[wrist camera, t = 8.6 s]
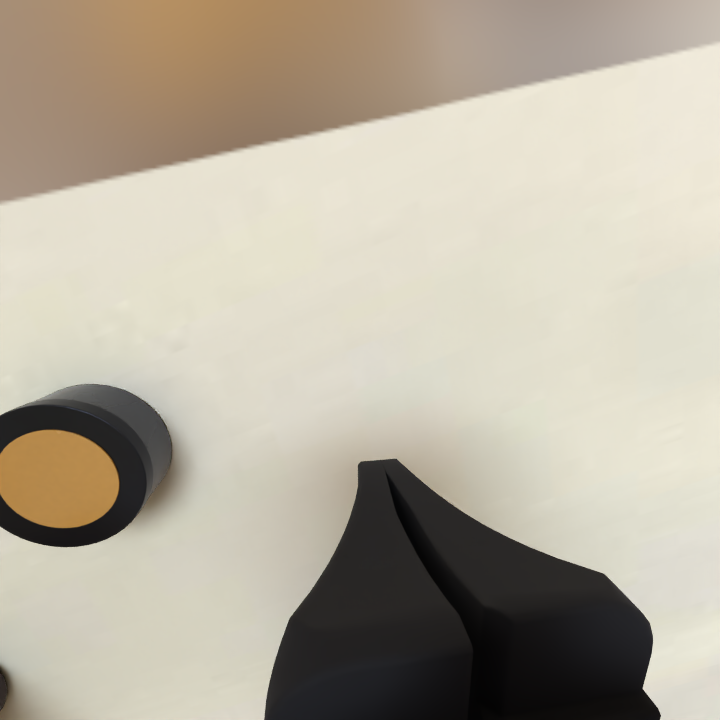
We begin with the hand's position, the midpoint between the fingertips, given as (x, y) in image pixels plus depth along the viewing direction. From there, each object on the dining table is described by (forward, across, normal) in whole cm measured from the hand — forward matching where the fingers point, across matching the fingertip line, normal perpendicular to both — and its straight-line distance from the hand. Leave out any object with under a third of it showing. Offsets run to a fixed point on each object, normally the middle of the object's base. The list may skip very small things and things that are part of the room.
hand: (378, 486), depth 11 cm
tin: (+9, +14, +2) cm, 17 cm away
